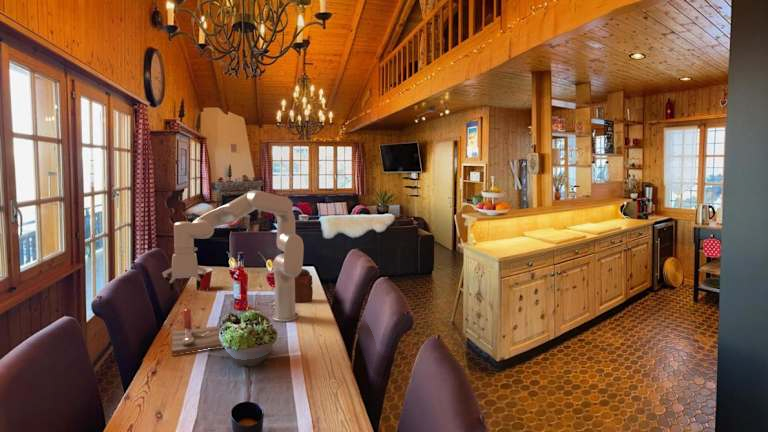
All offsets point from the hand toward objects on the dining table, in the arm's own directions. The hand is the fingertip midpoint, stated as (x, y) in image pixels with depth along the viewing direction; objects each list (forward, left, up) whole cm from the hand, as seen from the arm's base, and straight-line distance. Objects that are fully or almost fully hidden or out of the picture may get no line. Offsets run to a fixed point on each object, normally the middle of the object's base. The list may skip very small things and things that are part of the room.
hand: (185, 290), depth 192 cm
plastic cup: (-79, +10, -21) cm, 82 cm away
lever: (+7, 0, -18) cm, 20 cm away
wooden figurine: (-33, +58, -21) cm, 70 cm away
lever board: (+7, +4, -21) cm, 22 cm away
